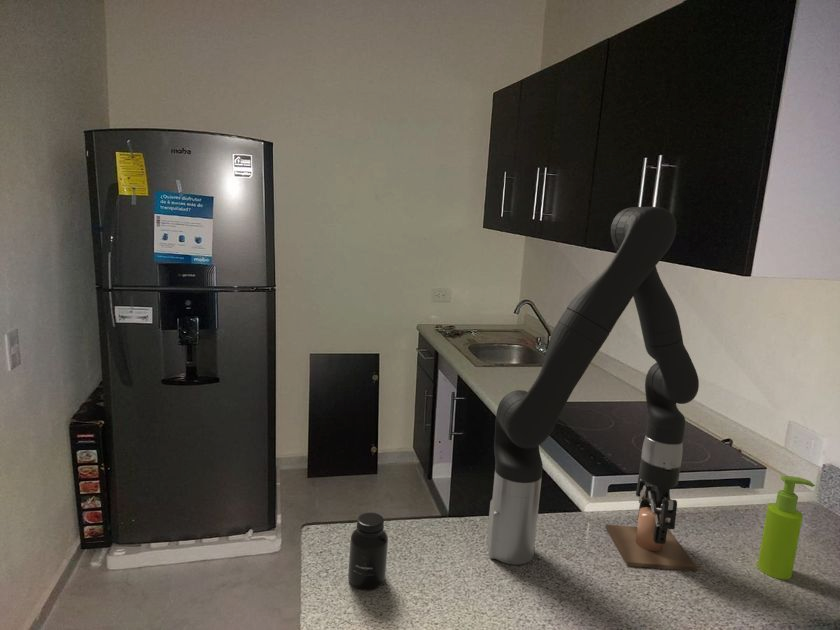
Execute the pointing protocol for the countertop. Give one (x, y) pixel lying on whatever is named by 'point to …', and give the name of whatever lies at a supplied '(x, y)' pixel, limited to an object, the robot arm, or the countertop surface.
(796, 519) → the soap dispenser
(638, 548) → the mat
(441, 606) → the countertop surface
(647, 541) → the spice jar
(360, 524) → the supplement bottle
